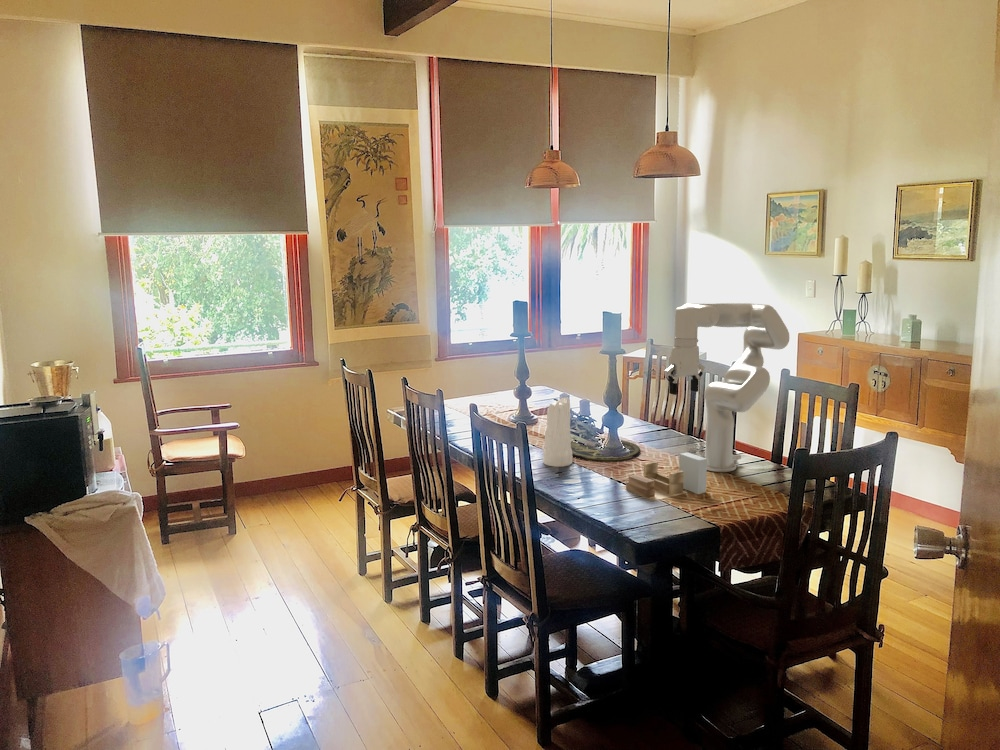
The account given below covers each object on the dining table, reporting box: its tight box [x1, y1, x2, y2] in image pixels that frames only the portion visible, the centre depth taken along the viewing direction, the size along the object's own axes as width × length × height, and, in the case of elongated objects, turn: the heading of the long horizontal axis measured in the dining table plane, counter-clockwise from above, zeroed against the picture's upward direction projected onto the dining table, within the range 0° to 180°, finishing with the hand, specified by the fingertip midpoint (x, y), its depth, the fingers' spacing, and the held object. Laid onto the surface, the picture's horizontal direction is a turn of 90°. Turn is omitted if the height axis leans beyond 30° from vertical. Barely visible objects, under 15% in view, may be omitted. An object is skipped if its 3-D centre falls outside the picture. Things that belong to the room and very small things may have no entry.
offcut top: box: [628, 474, 654, 490], centre depth 252 cm, size 4×8×2 cm, turn 34°
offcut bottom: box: [625, 481, 655, 499], centre depth 253 cm, size 4×10×2 cm, turn 30°
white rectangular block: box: [678, 452, 708, 495], centre depth 255 cm, size 4×9×12 cm, turn 30°
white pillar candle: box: [542, 396, 573, 468], centre depth 290 cm, size 11×11×25 cm
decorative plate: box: [571, 437, 641, 463], centre depth 307 cm, size 30×2×30 cm
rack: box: [620, 460, 688, 502], centre depth 255 cm, size 15×16×8 cm
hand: (683, 392), depth 267 cm, fingers open, 9 cm apart
